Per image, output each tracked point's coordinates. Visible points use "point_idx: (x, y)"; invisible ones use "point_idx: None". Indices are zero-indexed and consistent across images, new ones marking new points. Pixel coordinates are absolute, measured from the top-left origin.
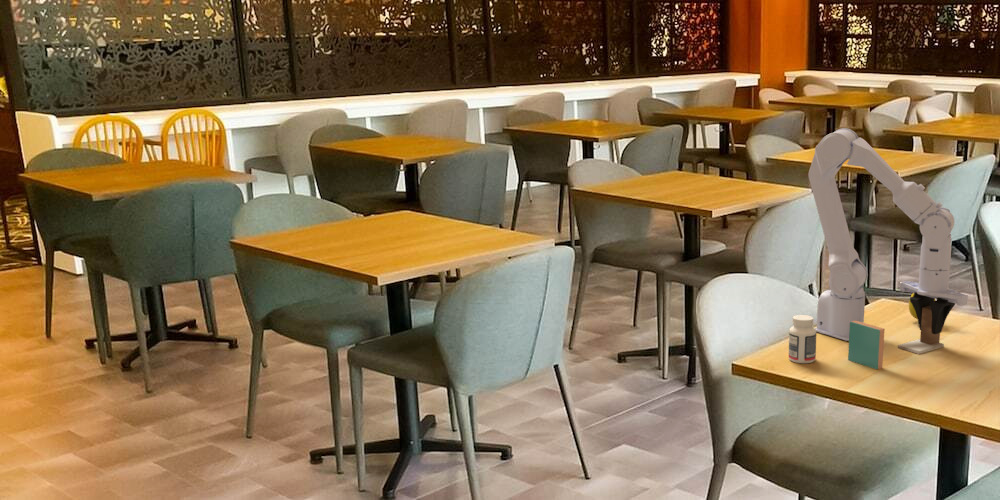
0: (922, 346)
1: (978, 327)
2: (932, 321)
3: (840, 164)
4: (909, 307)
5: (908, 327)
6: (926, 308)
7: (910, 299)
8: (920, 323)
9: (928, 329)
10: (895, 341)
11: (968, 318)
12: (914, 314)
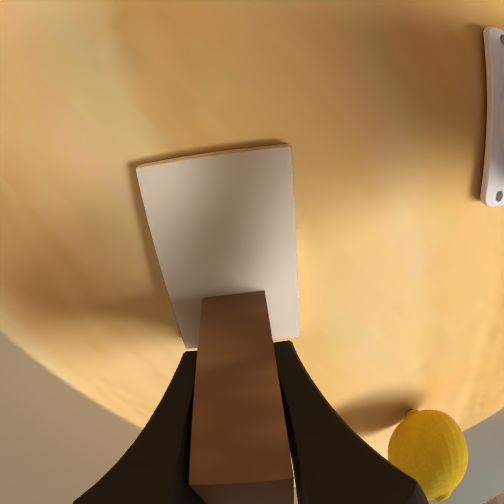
0: (198, 248)
1: None
2: (183, 407)
3: None
4: (454, 425)
5: (419, 368)
6: (256, 484)
7: (413, 497)
8: (287, 369)
9: (216, 356)
10: (370, 219)
11: None
12: (430, 417)
